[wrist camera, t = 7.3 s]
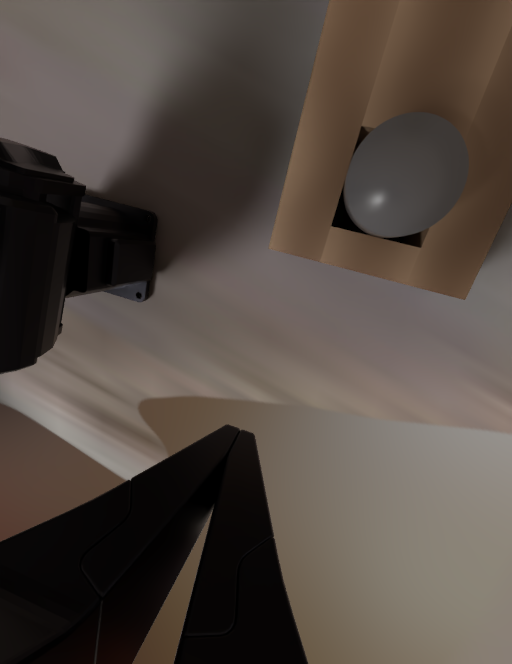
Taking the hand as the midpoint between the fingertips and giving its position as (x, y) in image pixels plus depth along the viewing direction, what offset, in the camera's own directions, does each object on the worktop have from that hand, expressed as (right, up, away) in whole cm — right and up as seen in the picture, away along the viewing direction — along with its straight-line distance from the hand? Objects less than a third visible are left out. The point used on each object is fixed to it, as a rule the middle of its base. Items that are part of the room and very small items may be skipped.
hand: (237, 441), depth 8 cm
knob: (+8, +11, +9) cm, 16 cm away
